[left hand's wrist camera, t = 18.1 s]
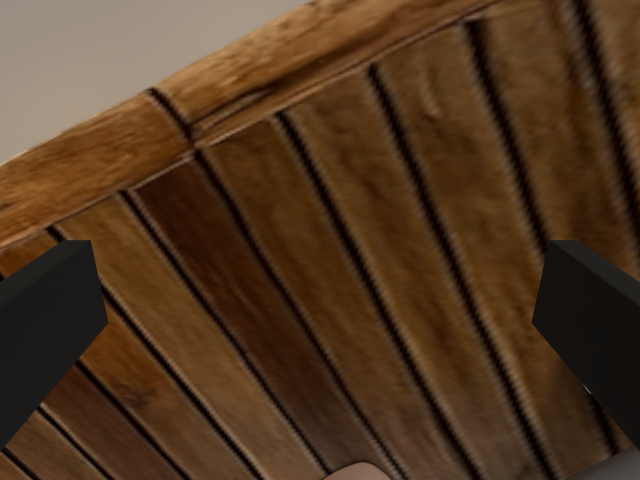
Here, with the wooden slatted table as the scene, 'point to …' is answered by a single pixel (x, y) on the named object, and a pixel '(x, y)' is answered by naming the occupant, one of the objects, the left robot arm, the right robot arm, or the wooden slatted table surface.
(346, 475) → the anatomical model
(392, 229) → the wooden slatted table surface
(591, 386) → the left robot arm
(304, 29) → the wooden slatted table surface
